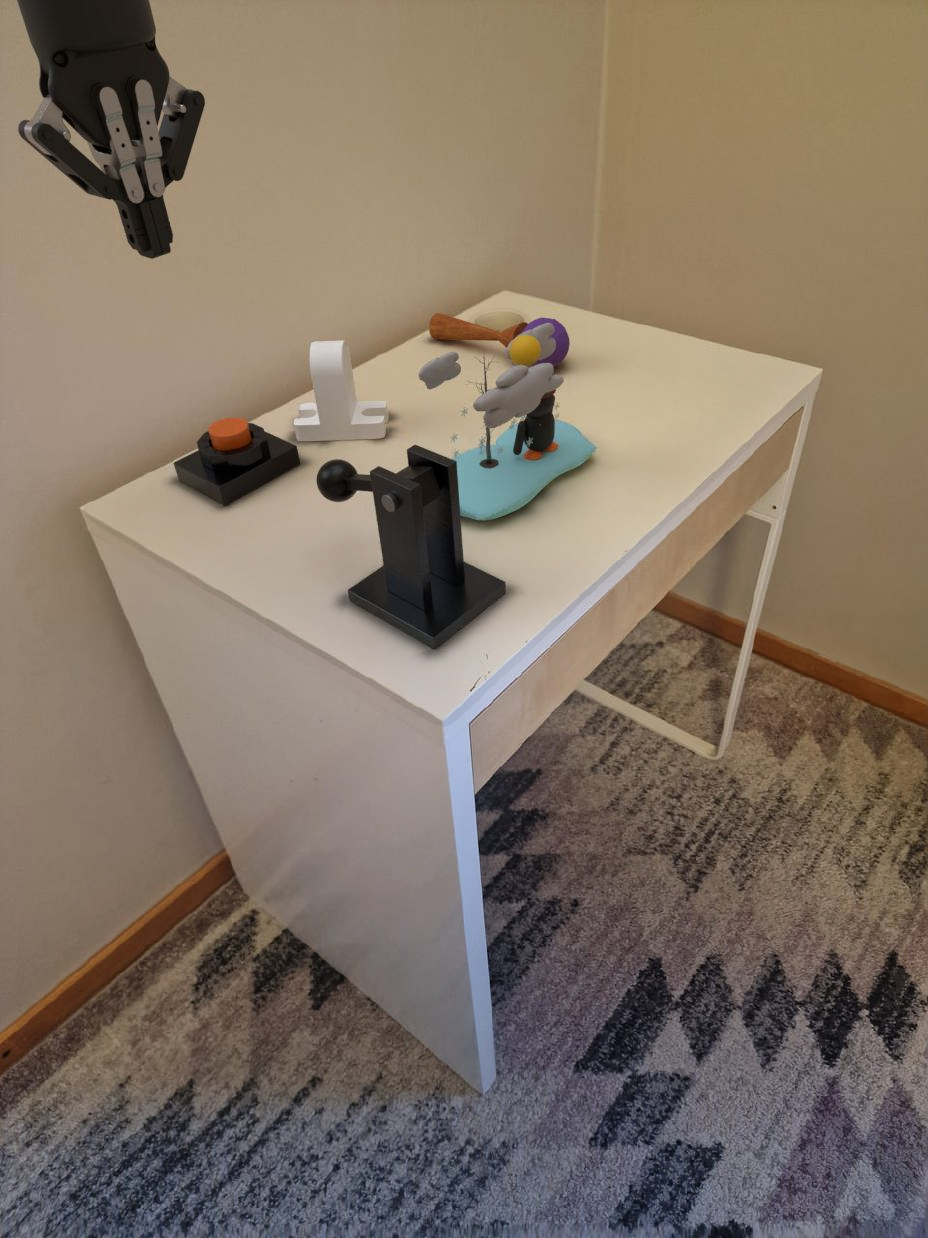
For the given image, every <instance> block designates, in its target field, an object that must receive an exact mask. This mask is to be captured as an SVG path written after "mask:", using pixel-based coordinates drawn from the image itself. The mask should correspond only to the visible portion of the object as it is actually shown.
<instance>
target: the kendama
mask: <svg viewBox="0 0 928 1238" xmlns="http://www.w3.org/2000/svg"><path fill="white" fill-rule="evenodd" d="M545 323H551V324H553V326H554V328H555V331H554V333H553V334H552V335H551V336H550V337H552V338H554V339H555V341H556V348H555V351H554V352H553V353H552V354H551V355H550V356H548V357H546V358H544V359H542V360H537V361H536V362H535V363H534V364H533V365H531V366H530V367H532V366H535V365H537V364H541V363H551V364H552V365H553V368H556V367H558V366H559V365H560V364H561V363H562V362H563V361H564V360H565V358H566V357H567V356H568V353H569V350H570V337H569V334H568V331H567V329H566V327H565V326H564V325H563V324H562V323H561V322H560V321H558V320H557V319H556V318H549V317H542V316H541V317H538V318H536V319H533V320H532V321H530V322H529V323H528V322H526V321H522V322H520V323H517V324H515V325H513V326H510V327H508V328H506V329H505V328H504V329H503V330H500V331H499V330H496V329H493V328H489V327H486V326H483V325H480V324H478V323H477V324H476V323H474V322H470V321H467V320H463V319H460V318H456V317H453V316H450V315H447V314H444V313H441V312H436V313H434V314H433V315H432V316H431V317H430V320H429V323H428V331H429V335H430V337H431V338H432V339H434V340H447V341H448V340H449V341H450V340H454V341H490V342H491V341H493V342H500V343H501V345H503V346H504V347H505V348H506V349H507V347H508V345H509V343H510V342H511V341H512V340H513V339H515V338H516V337H517V336H518V335H520V334H521V333H523V332H525V331H527V330H530V329H531V330H532V329H533V328H535V327H537V326H540V325H542V324H545Z"/></svg>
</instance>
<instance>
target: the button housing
mask: <svg viewBox="0 0 928 1238" xmlns="http://www.w3.org/2000/svg"><path fill="white" fill-rule="evenodd" d="M248 425H249V429H250V433H251V438H252V439H251V442H250V443H249V444H247V445H245V446H243V447H241V448H237V449H232V450H216V449H215V448H214V447H213V445H212V442H211V438H210V435H209V431H205V432H204V433H203V434H202V435H201V436H200V437H199V438H198V440H197V441H196V446H197V450H195V451H194V452H192V453H190V454H188V455H186V456H184V457H182V458H180V459H178V460H176V461H174V462H172V464H173V466H174V469H175V473H176V475H177V476H176V477H177V479H178V481H179V482H180V483H182V484H184V485H186V486H188V487H190V489H191V488H192V489H193V490H195V491H197V492H199V493H201V494H202V495H204V496H206V497H207V498H210V499H212V500H213V501H215V502H217V503H218V504H220V505H222V506H224V507H225V506H227V505H229V504H230V503H233V502H234V501H236V500H238V499H240V498H241V497H243V496H245V495H247V494H249V493H251V492H252V491H254V490H256V489H258V488H259V487H262V486H264V485H265V484H267V483H269V482H270V481H273V480H274V479H276V478H278V477H279V476H281V475H283V474H285V473H287V472H288V471H290V470H293V469H294V468H295V467H298V466H299V465H301V460H300V454H299V450H298V446H297V445H296V444H294V443H291V442H290V441H287V440H285V439H283V438H281V437H278V436H277V435H274V434H271V433H269V432H267V431H266V430H265V429H264V427H262V426H260V425H258V424H256V423H254V422H248Z"/></svg>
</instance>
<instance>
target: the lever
mask: <svg viewBox="0 0 928 1238" xmlns="http://www.w3.org/2000/svg"><path fill="white" fill-rule="evenodd" d="M396 474H398V475H400V476H403V477H405V478H407V479H409V480H412V481H414V482H416V483H419V484H420V486H421V495H422V505H423V507H425V506H426V505H428V504H429V503H431V502H432V501H434V500H435V499H437V498H438V497H440V496H441V491H440V488H439V485H438V482H437V479H436V476H435V473H434V470H433V467H424V466H408V465H407V466H406V467H404V468H403V469H401V470H399V471H397V472H396ZM315 480H316V486H317V487H316V488H317V489H318V492H319V493H320V494H321V495H322V496H323V497H324V498H325V499H326V500H327V501H330V502H333V503H343V502H346V501H348V500H351V499H352V498H353V497H354V496H355V495H356V493H357V492H368V493H369V492H371V493H373V490H372V484H371V477H370V474H365V473H364V474H363V473H358V471H357V469H356V468H355V466H354V465H353V464H352V463H351V462H349V461H346V460H345V459H339V458H335V459H330V460H328V461H326V462H325V463H323V464H322V465H321V466H320V468H319V469H318V470H317V473H316V479H315Z"/></svg>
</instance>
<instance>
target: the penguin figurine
mask: <svg viewBox="0 0 928 1238" xmlns="http://www.w3.org/2000/svg"><path fill="white" fill-rule="evenodd" d="M554 331H555V328H554V326H553V324H551V323H545V324H542V325H540V326H537V327H535V328H533V329H532V330H531V329H530V330H527V331H525V332H523V333H521V334H520V335H518V336H517V337H516V338H515V339H513V340H512V341H511V342H510V343H509V345H508V347H507V348H506V349H505V356H506V359H508V360H510V361H511V362H512V365H513V366H512V367H510V368H508V369H507V370H506V371H504V372H503V373H502V374H500V376H498V377H497V379H496V380H495V387H492V388H489V389H488V381H487V380H488V379H487V371H490V370H491V368H489V367H490V365H491V363H493V359H494V357H495V355H493V357H492V359H491V361H489V362H487V366H486V362H485V361H486V359H485V353H483V362H481V360H479V362H480V363H482V364H483V373H484V374H483V376H484V378H483V379H482V380H483V381H484V383H478V381H477V379H475V380H476V382H475V386H476V388H477V391H480V394H481V395H479V396H478V397H477V398H476V399H475V400H474V402H473V403H472V407H473V409H474V410H475V411H476V412H485V413H484V414H483V417H482V419H483V428H482V427H481V429H483V430H484V428H485V433H484V435H485V436H484V437H481V439H479V440H478V441H479V443H478V446H477V447H473V448H472V449H468V450H466V451H463V452H461V453H459V451H460V449H457V448H455V449H454V450H455V451H454V452H453V455H452V458H451V459H452V460H455V461H456V462H457V474H458V488H459V503H460V517H464V518H468V519H472V520H477V521H491V520H494V519H498V518H502V517H503V516H507V515H509V514H512V513H513V512H516V511H518V510H520V509H521V508H523V507H524V506H525V505H527V504H528V503H529V502H531V501H532V500H533V499H534V498H535V497H536V496H537V495H538V494H539V493H540V492H541V491H542V490H544V488H545V487H546V486H548V484H550V483H551V482H552V481H553V480H554V479H556V478H557V477H559V476H561V475H562V474H565V473H566V472H569V471H572V470H573V469H576V468H577V467H580V466H581V465H582V464H584V463H586V462H587V460H588V459H589V458H590V457H591V456H592V455H593V454H594V453H595V452H596V450H597V446H596V445H595V444H594V443H593V442H591V441H590V440H589V439H588V438H587V437H585V435H583V432H581V430H580V429H578V427H576V426H574V425H573V424H571V423H569V422H566V421H563V420H559V419H558V418H560V412H558V411H557V410H558V409H557V408H560V403H561V402H558V401H557V402H556V396H555V395H554V394H555V393H556V391H557V389H559V388H560V387H561V386H562V385H563V384H564V381H565V379H564V377H563V376H561V375H558V374H555V375H554V372H555V371H554V368H555V367H553V365H552V364H551V363H541V364H537V365H535V366H531V365H533V364H534V363H535V362H536V361H537V360H542V359H544V358H546V357H548V356H550V355H551V354H552V353H553V352H554V351H555V348H556V341H555V339H554V338H552V337H550V336H551V335H552V334H553V333H554ZM459 358H460V356H459V354H458V353H457V352H456V351H451V352H447V353H445V354H443V355H441V356H438V357H436V358H433V359H430V360H429V361H427V362H426V363H425V364H424V365H423V366H421V368H420V370H419V371H418V378H419V381H422V382H423V383H424V385H425V386H426V389H427V390H433V389H435V388H438V387H440V386H441V385H442V384H443V383H445V382H447V381H451V380H453V379H455V378H456V377H458V376H459V375H460V374H461V372H462V367H461V364H460V363H458V362H457V361H458V360H459ZM474 358H475V359H478V358H477V356H474ZM495 363H499V361H495ZM467 382H469V383H470V384H474V382H473V381H468V380H467ZM469 383H468V384H465V385H469ZM478 385H479V386H480V388H479V386H478ZM483 385H484V386H483ZM483 387H484V389H483ZM555 402H556V404H555ZM468 409H469V408H468V407H465V406H463V409H462V410H460V413H461V415H460V417H462V416H463V417H466V414H468ZM554 410H555V411H556V414H555V415H554V414H553V411H554ZM518 418H520V419H519V422H517V419H518ZM512 419H513V420H512ZM509 422H511V423H510V425H509V426H508V428H507V429H506V430H505V431H503V432H502V433H501V434H500V435H499V436H498V437H497V438H496V440H495V444H491V433H493V431H494V429H496V428H498V427H499V428H500V427H501V426H503V425H505V424H506V423H509ZM491 429H492V430H491ZM452 435H453V436H450V439H451V442H453V444H454V443H455V441H456V440H458V433H454V432H453V434H452Z"/></svg>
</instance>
